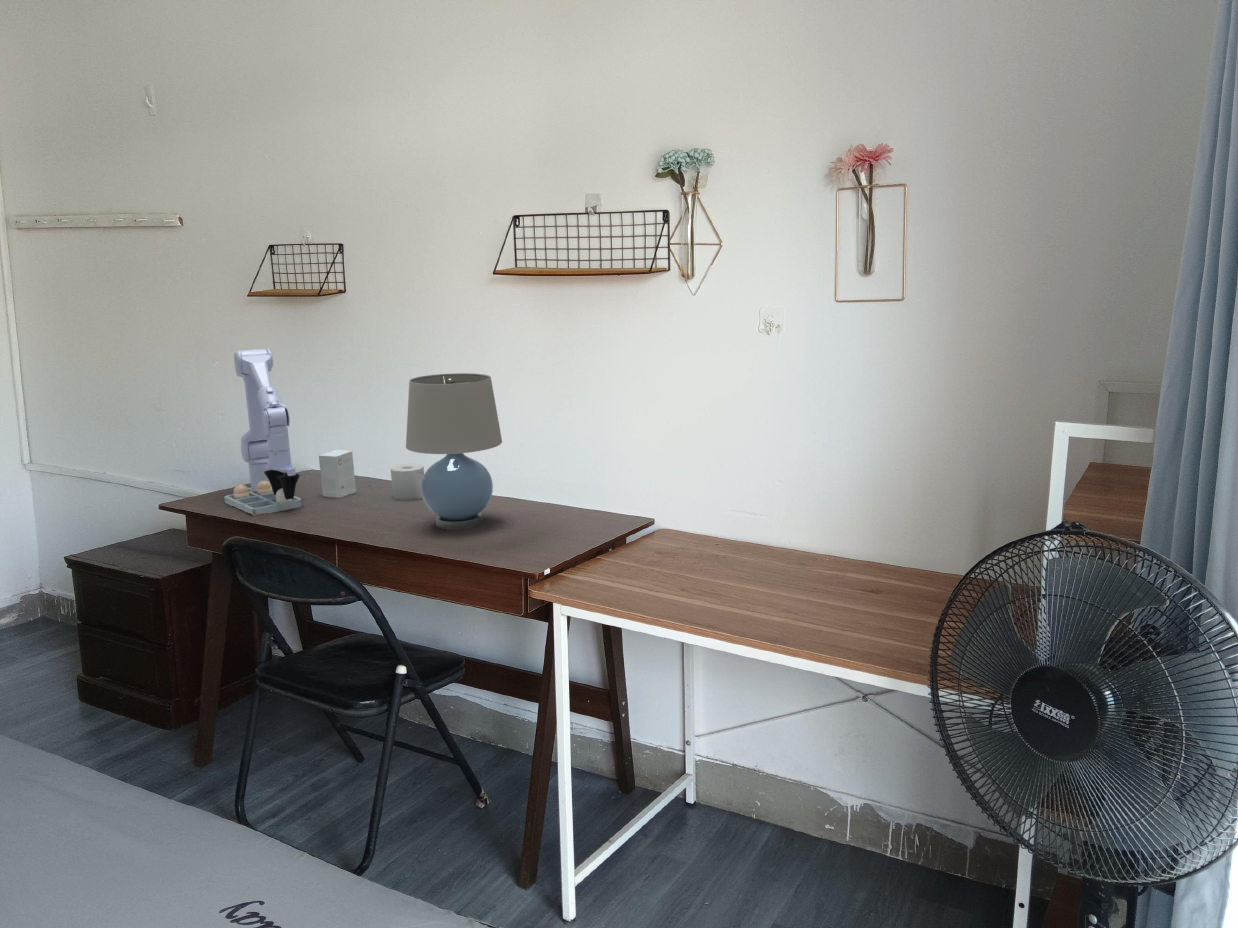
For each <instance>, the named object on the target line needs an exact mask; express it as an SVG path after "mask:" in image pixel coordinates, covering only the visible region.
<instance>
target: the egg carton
mask: <svg viewBox="0 0 1238 928" xmlns="http://www.w3.org/2000/svg"><path fill="white" fill-rule="evenodd" d="M249 495H250V497H246V498H241V499H236V500H235V499H234V493H232V494H228V495H223V503H224V504H226V505H229V506H230V507H232V506H234V507H236V508H238V509H241V510H243V511H245V512H248V513H251V514H260V513H269V514H274V513H278V512H282V511H288V510H292V509H297V508H302V507H304V506H305V505H304V500H303V498H300V497H298V496H295V495H294V498H293V499H292V501H289V502H284V503H279V504H278V503H276V495H274V492H273V490H272V493H267V494H262V495H257V490H253V491H251V490H249ZM234 507H233V508H234ZM236 508H235V509H236ZM238 509H237V510H238ZM243 511H242V512H243ZM245 512H244V513H245ZM273 512H274V513H273Z"/></svg>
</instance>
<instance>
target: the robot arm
mask: <svg viewBox="0 0 1238 928" xmlns="http://www.w3.org/2000/svg"><path fill="white" fill-rule="evenodd" d="M233 359H234V360H233V361H234V368H235V374H236V377H240V378H242V380H243V382H244V390H245V398H246V400H245V401H246V406H247V407H246V408H247V409H246V410H247V417H248V424H249V425H248V426H249V430H248V431H247V432H246V433H244V434H243V435H242V436H241V439H240V443H241V445H240V452H241V457H242V460H243V461H244V462H245V463H248V472H249V481H250V487H248V489H249V491H253V490H257V484H258V483H259V482H260V481H263V480H266V481H268V482H270V484H271V487H272V490H273V492H274V495H276V492H277V491H278V490H279V489H281V488H283V492H284V496H285V499H286V500H288V499H293V498H294V496H295V492H296V486H297V484H298V480H299V479H300V474H299V473H297V472H296V468H295V467H294V466H293V463H292V457H291V448H290V446H291V445H290V438H289V427H290V422H291V421H290V414H289V413H290V412H289V409H288V408H287V406H286V405H285V403H282V399H281V397H280V394H279V391H278V389H277V388H276V387H273V385H272V380H271V377H270V372H272V368H273V367H274V358H273V353H272V351H271V350H270V348H267V347H266V348H261V349H258V348H257V349H247V350H246V349H245V350H238V349H237V350H235V352H234V358H233Z"/></svg>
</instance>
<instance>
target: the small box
mask: <svg viewBox="0 0 1238 928" xmlns="http://www.w3.org/2000/svg"><path fill="white" fill-rule="evenodd" d="M353 457H354V455H353V451H352V450H345V449H343V450H342V449H334V450H332V451H328V452H326V453H322V454H319V455H318V461H319V469H320V471H319V472H320V478H321V481H320V482H321V491H322V497H325V498H326V497H328V498H337V499H340V498H344V497H345V496H348V495H350V494H351V495H353V494H356V493H357V488H356V486H357V485H356V478H355V467H354V466H355V465H354V458H353Z"/></svg>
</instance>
